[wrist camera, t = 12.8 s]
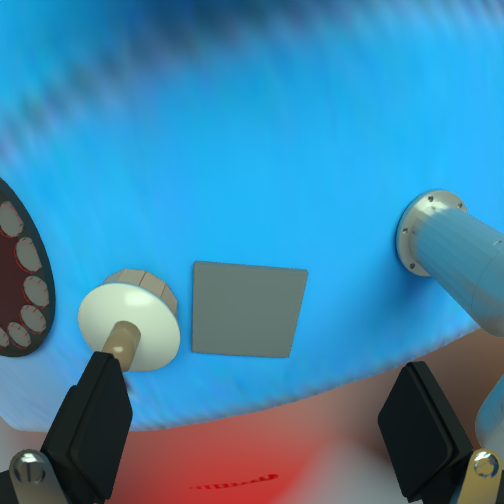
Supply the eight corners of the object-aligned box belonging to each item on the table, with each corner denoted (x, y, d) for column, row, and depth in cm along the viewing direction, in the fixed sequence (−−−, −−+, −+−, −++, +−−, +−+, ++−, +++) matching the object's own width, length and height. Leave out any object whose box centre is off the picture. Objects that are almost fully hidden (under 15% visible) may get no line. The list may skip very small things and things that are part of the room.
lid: (180, 287, 34) (171, 319, 29) (181, 372, 39) (176, 406, 34) (73, 276, 33) (51, 302, 27) (90, 359, 38) (76, 388, 33)
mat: (306, 269, 40) (308, 273, 40) (288, 352, 46) (288, 357, 45) (195, 260, 39) (194, 264, 38) (193, 347, 45) (192, 351, 44)
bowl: (179, 270, 40) (170, 294, 34) (179, 338, 44) (173, 366, 38) (98, 262, 39) (81, 284, 33) (107, 329, 43) (94, 355, 38)
